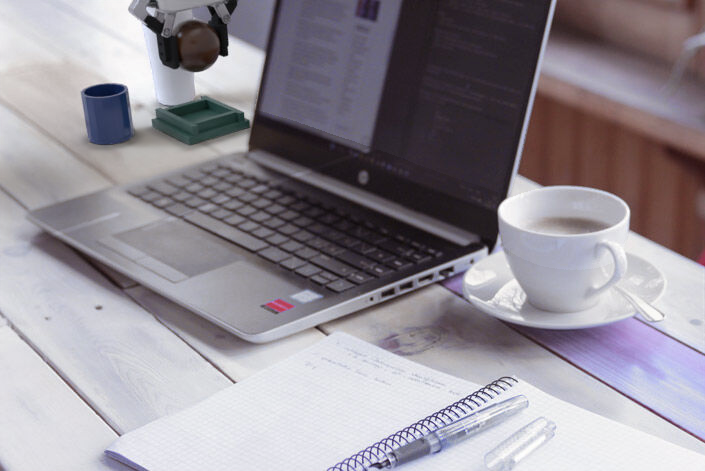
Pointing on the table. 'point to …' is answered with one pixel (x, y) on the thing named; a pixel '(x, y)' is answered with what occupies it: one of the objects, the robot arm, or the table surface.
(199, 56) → the ball
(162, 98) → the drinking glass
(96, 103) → the cup
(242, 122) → the tray
